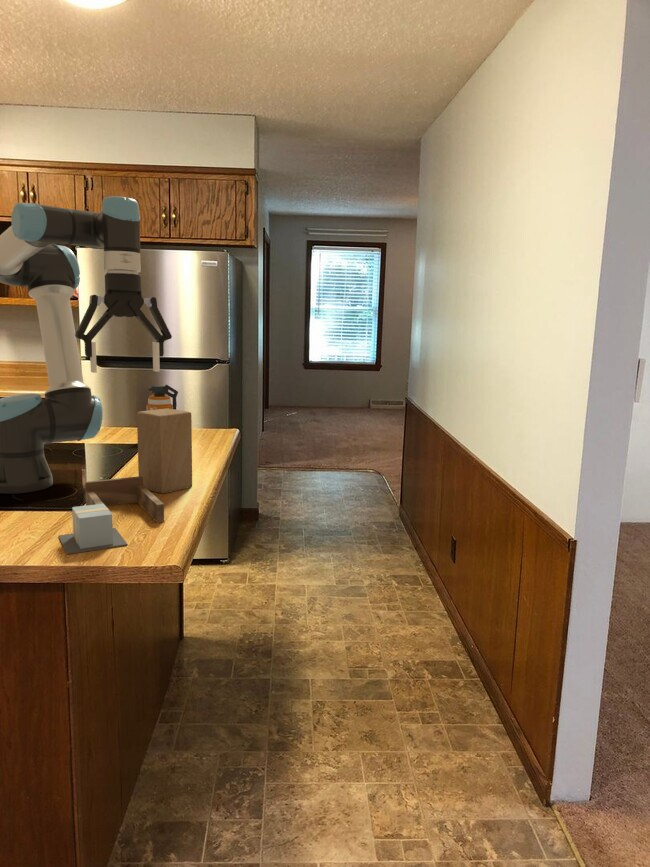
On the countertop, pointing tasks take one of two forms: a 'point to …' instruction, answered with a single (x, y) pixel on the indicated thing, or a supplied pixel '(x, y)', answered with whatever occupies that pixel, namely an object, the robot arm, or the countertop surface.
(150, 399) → the orange rounded handled piece
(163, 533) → the countertop surface
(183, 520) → the countertop surface
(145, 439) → the wooden block
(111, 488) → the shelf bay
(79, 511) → the block
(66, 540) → the mat
